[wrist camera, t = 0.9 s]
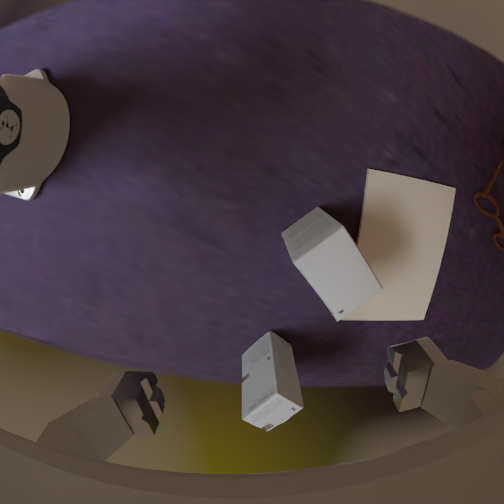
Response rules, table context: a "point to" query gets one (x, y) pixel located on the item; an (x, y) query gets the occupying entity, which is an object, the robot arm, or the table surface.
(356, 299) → the small box
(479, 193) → the glasses
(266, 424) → the skincare box
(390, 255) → the felt mat
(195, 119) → the table surface
